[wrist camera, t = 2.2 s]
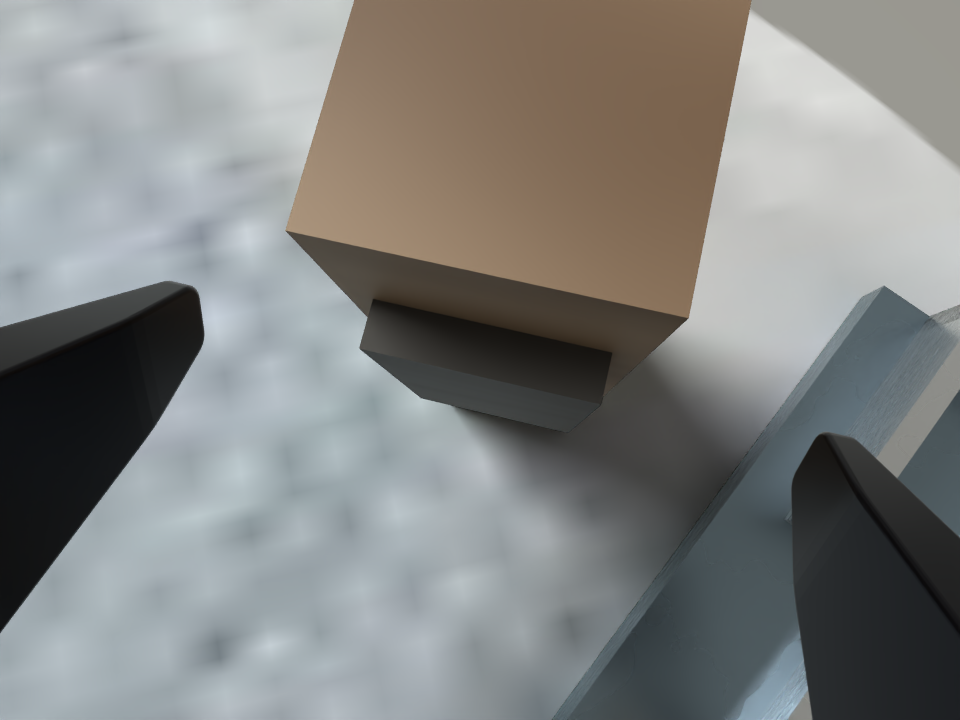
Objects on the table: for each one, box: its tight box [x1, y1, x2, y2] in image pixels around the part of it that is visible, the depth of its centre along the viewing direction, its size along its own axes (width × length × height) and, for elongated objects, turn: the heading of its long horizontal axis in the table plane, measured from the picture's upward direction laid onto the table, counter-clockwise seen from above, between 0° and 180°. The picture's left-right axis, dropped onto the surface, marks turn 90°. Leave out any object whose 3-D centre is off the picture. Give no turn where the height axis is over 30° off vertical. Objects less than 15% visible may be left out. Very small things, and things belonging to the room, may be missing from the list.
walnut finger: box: [285, 0, 751, 433], centre depth 13 cm, size 5×4×14 cm
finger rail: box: [552, 286, 960, 720], centre depth 14 cm, size 18×9×7 cm, turn 142°
